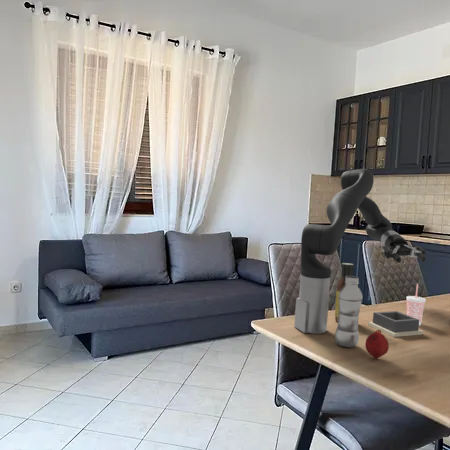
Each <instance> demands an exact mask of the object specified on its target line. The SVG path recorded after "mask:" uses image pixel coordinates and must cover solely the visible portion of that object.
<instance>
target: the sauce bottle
mask: <svg viewBox="0 0 450 450" xmlns="http://www.w3.org/2000/svg"><path fill="white" fill-rule="evenodd" d="M340 267H341V273H340V275H341V277H340V278H339V280H337V284H336V286H337V287H336V291H335V293H336V294H335V307H334V308H335V309H334V311H335V312H334V317H335V321H336V322H337V323H338V320H339V293H340V291H341V289H342V288H343V287H344V286H345V284H346V283H345V276H354V275H353V274H354V268H355V264H354V263H348V262H342V263H341V266H340Z"/></svg>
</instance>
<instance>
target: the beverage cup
mask: <svg viewBox="0 0 450 450" xmlns="http://www.w3.org/2000/svg"><path fill="white" fill-rule="evenodd" d="M418 289H419V283H416V286H415V295H407V296H405V297H406V315H408V316H411V317H413V318H416V319H419V326H421V325H422V320H423V314H424V308H425V303H426V301H427V300H426V298H424V297H421V296H418Z"/></svg>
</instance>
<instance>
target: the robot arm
mask: <svg viewBox="0 0 450 450" xmlns="http://www.w3.org/2000/svg"><path fill="white" fill-rule="evenodd" d="M373 186H374V175H373V173H372V171H371V170H369V169H367V168H359V169H351V170H346V171H344V172H343V173H342V174H341V177H340V187H341V189H342V190H340V191H338V192H337V193H336V194H335V195H334V196H333V197H332V198H331V199H330V201H329V203H328V204H327V206H326V216H327V218H328V221H329V223H330V225H328V224H326V225H325V224H318V223H317V224H316V223H308V224H306V225H305V226H304V227H303V229H302V233H301V240H300V243H301V244H300V246H301V248H300V250H301V251H300V280H299V291H298V293H299V294H298V297H296V299H295V312H294V325H293V326H294V328H295V329H297V330H298V331H301V332H302V333H304V334H308V333H309V334H324V333H326V332H327V330H328V329H327V327H328V318H329V317H328V313H329V304H330V301H329V300H330V290H331V289H330V288H331V277H332V269H331V267H330V266H329V265H326V264H324V263H322V262H321V261H320V260H319V259H318V258H317V256H316V255H320V256H332V255H334V254H335V253H336V252H337V250H338V248H339V245H340V243H341V241H342V238H343V236H344V234H345V231H346V230H347V227H348V226H349V224H350V222H351V220H352V219H353V218H354V216H355V214H356V212H357V210H359V211H360V212H359V213H361V215H362V217H363V218H364V219H363V220H364V221H365V223H366V224H367V226H366V227H365V232H366V235H367V236H368V237H369V238H370V239H372V240H374V241H376V242H380V244H382V254H383V256H384V257H385V258H386V259H388V260H389V259H392V260H394V261H395V262H396V263H397V264H399V263H400V264H401V261H402V257H403V256H405V257H406V256H407V257H410V258H417V260H418V261H420V262H421V263H425V261H426V252H427V251H426V249H424V248H423V247H421V246H420V245H418V244H415V246H414V247H412V246H411V245H409V243H408V240H407V239H405V238H404V237H403V236H402V235H401V234H399V233H398V231H397V232H396V231H395V229H393V225H392V222H391V221H390V220H389V218H387V217H386V216H385V215H383V213H382V212H381V209H380V208H379V206H378V204H377V203H376V202H375V201H374V200H372V198H369V197H368V195H369V194H370V192H371V191H372V189H373Z"/></svg>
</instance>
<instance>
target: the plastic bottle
mask: <svg viewBox="0 0 450 450" xmlns="http://www.w3.org/2000/svg"><path fill="white" fill-rule="evenodd" d="M359 279H360V278H359V277H358V276H355V275H353V276H345V283H346V284H345V286H344V287H343V288H342V289H341V291H340V293H339V320H338V322H337V327H336V330H335V334H334V338H335V339H334V341H335V343H336V344H337V345H338V346H340V347H344V348H355V347H356V346H357V345H358V344H359V339H360V338H359V337H360V335H359V334H360V332H359V316H360V310H361V306H362V302H363V293H362V291H361V289H360V288H359V286H358V285H359V284H360V281H359Z"/></svg>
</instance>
